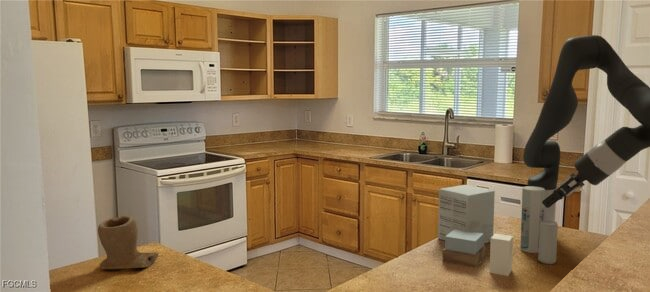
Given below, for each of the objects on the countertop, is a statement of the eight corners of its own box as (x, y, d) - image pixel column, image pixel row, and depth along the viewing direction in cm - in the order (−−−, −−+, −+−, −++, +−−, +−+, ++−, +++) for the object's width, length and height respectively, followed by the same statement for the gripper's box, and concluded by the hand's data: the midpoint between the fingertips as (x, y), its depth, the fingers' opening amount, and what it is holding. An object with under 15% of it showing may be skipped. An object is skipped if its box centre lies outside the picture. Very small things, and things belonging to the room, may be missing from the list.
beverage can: (557, 265, 148) (559, 225, 146) (540, 264, 149) (542, 224, 147) (553, 259, 152) (555, 220, 151) (536, 258, 153) (538, 219, 152)
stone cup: (91, 275, 141) (88, 223, 140) (109, 260, 153) (106, 212, 151) (146, 275, 142) (143, 222, 140) (159, 260, 153) (157, 212, 152)
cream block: (493, 267, 146) (494, 233, 145) (511, 270, 144) (513, 236, 142) (489, 272, 142) (490, 238, 141) (508, 276, 139) (509, 240, 138)
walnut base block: (452, 253, 160) (453, 240, 159) (485, 258, 155) (485, 246, 154) (442, 262, 151) (442, 249, 151) (476, 268, 146) (476, 255, 146)
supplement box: (463, 232, 181) (464, 184, 179) (493, 241, 170) (495, 190, 168) (436, 238, 174) (438, 188, 172) (466, 248, 163) (468, 195, 161)
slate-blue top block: (454, 241, 159) (454, 229, 158) (483, 246, 154) (483, 233, 154) (444, 249, 151) (445, 236, 151) (475, 254, 147) (475, 241, 146)
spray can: (517, 246, 165) (520, 185, 162) (539, 247, 164) (541, 186, 161) (522, 252, 158) (525, 190, 156) (544, 253, 157) (547, 190, 155)
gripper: (593, 148, 132) (545, 187, 140) (583, 154, 121) (531, 195, 129) (615, 170, 130) (564, 208, 138) (607, 178, 118) (552, 219, 126)
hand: (548, 202), depth 133 cm, fingers open, 8 cm apart
